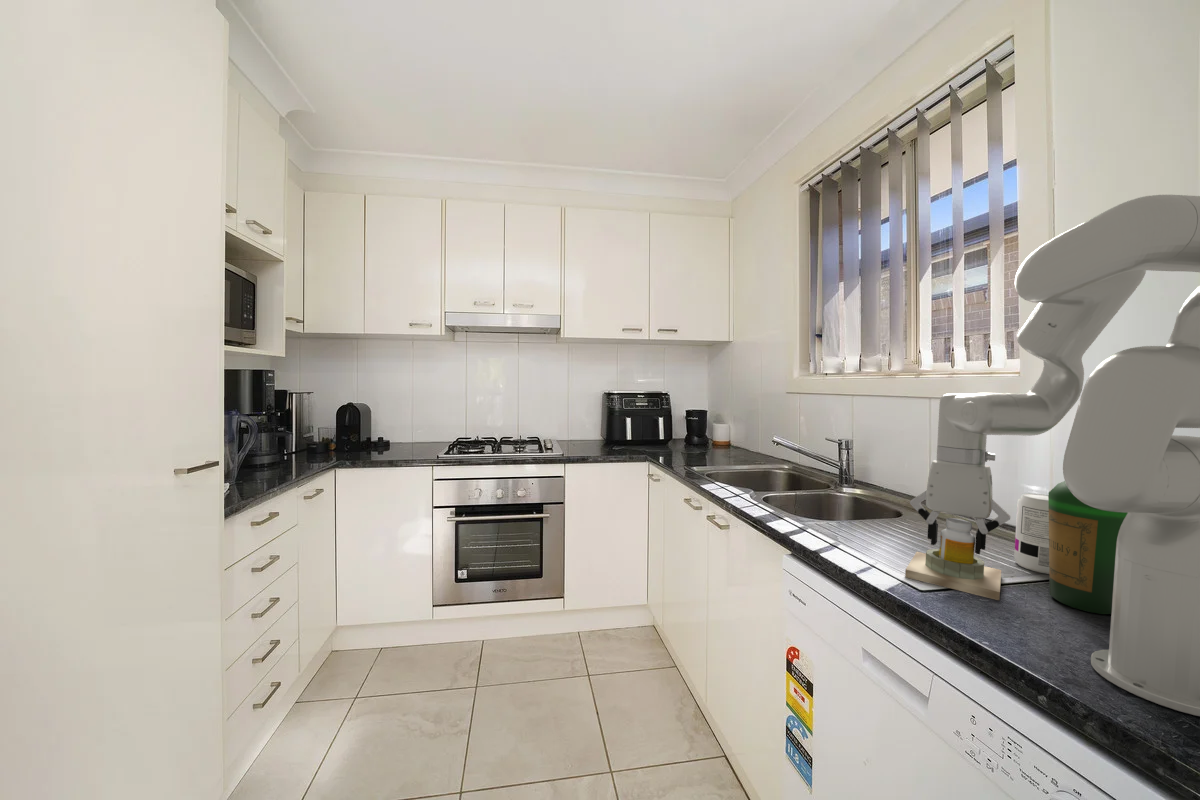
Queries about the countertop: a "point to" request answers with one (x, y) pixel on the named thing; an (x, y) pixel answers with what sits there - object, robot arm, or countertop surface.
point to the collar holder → (955, 574)
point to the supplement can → (1032, 532)
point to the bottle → (1081, 552)
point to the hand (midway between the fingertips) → (955, 546)
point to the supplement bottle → (957, 542)
